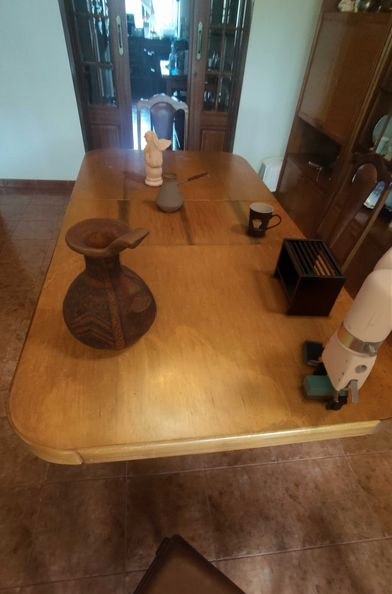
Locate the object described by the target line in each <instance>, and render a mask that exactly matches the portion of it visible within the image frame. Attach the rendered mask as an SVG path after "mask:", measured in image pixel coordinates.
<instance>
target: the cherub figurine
mask: <svg viewBox="0 0 392 594" xmlns="http://www.w3.org/2000/svg"><path fill="white" fill-rule="evenodd" d="M143 138H144V139H145V142H146V144H145V146H144V148H143V154H144V156H143V160H144V165H145V166H144V173H145V175H146V176H145V179H144V183H145V185H147V186H150V187H160V186H161V184H162V182H163V178H162V176H161V174H162V173H163V168H162V166H163V159H164V158H163V151H166V150H167V148H169V147H170V146H171V144H172V140H170V139H166V138H158V134H157V133H156V132H155V131H154V130H147V131H146V132H144V136H143Z"/></svg>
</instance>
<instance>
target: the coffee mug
mask: <svg viewBox="0 0 392 594" xmlns="http://www.w3.org/2000/svg"><path fill="white" fill-rule="evenodd" d="M274 210H275V209H274V207H273V205H270V204H268V203H264V202H253V203H251V204H250V205H249V212H248V213H249V216H248V227H247V228H248V229H247V234H248V236H249V237H252V238H256V239H260V238H264V237H265V234H266V232H267V230H270V229H273V228H275V227H277V226H279V225H280V224H281V223H282V217H281V215H279V214H277V213H276V214H273V213H274ZM274 217H277V218H279V222H278V223H276V224H274V225H271V226H269V224H270V220H272V219H273V218H274Z"/></svg>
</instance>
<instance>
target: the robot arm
mask: <svg viewBox="0 0 392 594" xmlns="http://www.w3.org/2000/svg"><path fill="white" fill-rule="evenodd" d="M391 332H392V246H391V247H390V248H389V249H388V250H387V251H386V252H385V253H384V254H383V255H382V256H381V258H379V260H378V261H377V263H376V264H375V266H374V267H373V270H372V272H370V273H369V274H368V275H367V276H366V278H365V280H364V281H363V283H362V285H361V287H360V289H359V291H358V292H357V294H356V296H355V297H354V300H353V302H352V303H351V305H350V307H349V309H348V310H347V312H346V314H345V317H344V318H343V320H342V322H341V323H340V326H339V327H338V328H337V329H336V330H335V332H333V334H332V336H331V337H330V338H325V337H324V338H323V341H322V343H323V348H322V349H321V357H319V359H318V361H319V362H320V363H318V364H317V366H316V367H315V368H314V370H313V372H312V375H314V376H329V378H330V380H331V383H332V385H333V387H334V388H335V394H334V397H331V398H330V400H327V401H328V402H327V403H326V404H325V406H324V409H325V410H326V411H333V412H337V411H340V410H341V409H342V408H343V407H344V405H359V403H360V398H359V390H360V389H361V387H363V385H364V384H365V382H366V380H367V378H368V377H369V375H370V374H371V371H372V369H373V367H374V365H375V362H376V360H377V357H378V351H379V349H380V348H381V346H382V344H383V343H384V341H385V340H386V339H387V337H388V336H389V335H390V333H391ZM341 390H345V396H340V391H341Z"/></svg>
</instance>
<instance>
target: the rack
mask: <svg viewBox="0 0 392 594" xmlns="http://www.w3.org/2000/svg"><path fill="white" fill-rule="evenodd" d="M323 255H324V256H323ZM319 256H320V258H319ZM325 258H326V259H325ZM320 259H321V260H320ZM326 260H327V261H326ZM322 262H323V263H322ZM327 262H328V263H327ZM323 264H324V265H323ZM328 264H329V265H330V266H329V265H328ZM319 266H320V267H319ZM325 267H326V268H325ZM330 267H331V268H330ZM320 268H321V269H320ZM326 269H327V270H326ZM331 269H332V270H331ZM321 270H322V271H323V273H324V274H323V273H322V271H321ZM327 271H328V272H329V274H328V272H327ZM272 276H273V278H280V280H281V282H282V285H283V288H284V290H285V293H286V296H287V299H288V302H289V305H288V308H287V310H286V315H287V316H298V317H299V316H300V317H329V316H330V314H331V312H332V310H333V308H334V306H335V304H336V302H337V299H338V297H339V295H340V293H341V291H342V290H343V288H344V285H345V283H346V282H347V279H348V278H347V276H346V275H345V273H344V272H343V271H342V269H341V267H340V265H339V264H338V262H337V261H336V259H335V258H334V256H333V255H332V253H331V252H330V250H329V248H328V246H327V245H326V242H325V241H324V239H315V238H296V237H295V238H293V237H283V240H282V243H281V246H280V249H279V253H278V257H277V261H276V264H275V268H274V271H273V274H272Z"/></svg>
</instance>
